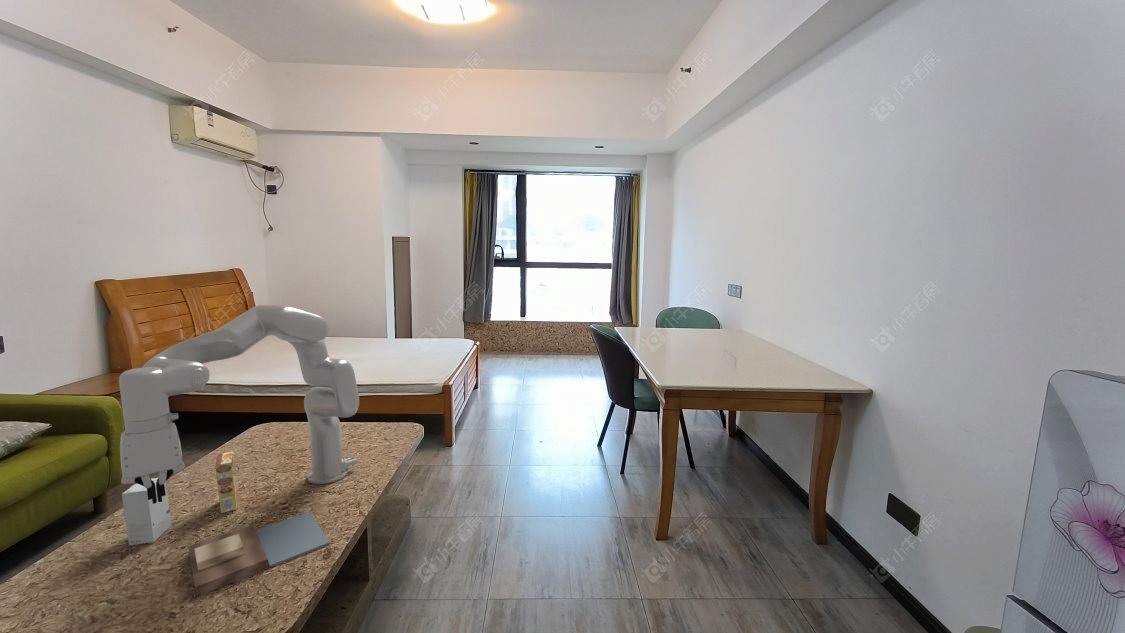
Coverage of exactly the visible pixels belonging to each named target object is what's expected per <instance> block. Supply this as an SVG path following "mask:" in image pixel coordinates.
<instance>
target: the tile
mask: <svg viewBox="0 0 1125 633" xmlns="http://www.w3.org/2000/svg"><path fill="white" fill-rule="evenodd" d="M243 554H244V549H243V544H242V542H241V539H240V536H239V534H236V535H233V536H230V537H227V538H224V539H221V540H218V541H216V542H213V543H210V544H207V545H204V546H201V547H198V548H195V557H196V562H197V567H198V571H199V570H202V569H204V568H207V567H210V566H213V565H215V564H218V563H221V562H224V561H226V560H229V559H232V558H235V557H237V556H240V555H243Z"/></svg>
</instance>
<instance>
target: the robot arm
mask: <svg viewBox="0 0 1125 633" xmlns="http://www.w3.org/2000/svg"><path fill="white" fill-rule="evenodd" d="M328 334H329V324H328V321H326V319H325V318H324V317H322V316H321V315H319V314H315V313H313V312H312V313H311V312H307V311H305V310H302V309H299V308H295V307H292V306H285V305H269V304H259V305H255V306H253V307H251V308H249V309H248V310H246V311H245V312H243V313H241V314H239V315H238V316H236V317H235V318H234V319H232V320H230V321H229V322H227V323H225V324H223V325H222V326H220V327H219V328H217V329H214V330H212V331H209V332H205V333H202V334H201V335H198V336H194V337H191V338H188V339H185V340H183V341H180V342H178V343H176V344H173V345H171V346H170V347H168V348H166V349H165V350H162V351H161V352H159V353H157V354H156V355H154V356H153V357H151V358H150V359H148V360H147V361H146V362H145V363H144V364H143V365H142V367H137V368H131V369H128V370H125V371H123V372H122V373H121V374H120V375H119V377H118V383H119V384H118V385H119V391H120V400H121V401H120V402H121V407H122V415H123V416H122V417H123V423H124V424H123V425H124V431H122V432H121V434H120V440H119V455H120V466H121V467H120V469H121V474H122V476H121V484H122V485H126V484H127V485H128V484H129V485H130V484H139V485H142V486H144V487H145V488H147V494H148V500H151V499H152V501H153V504H155V503H156V502H157V497H158V502H162V496H166V493H165V485H164V484H165V483H166V484H167V481H168V480H169V479H170V478H171V477H172V476H173V474H176V473H179V472H181V471H183V470H185V469H186V466H185V463H184V461H183V453H182V445H181V440H180V434H179V431H178V428H177V425H176V423H175V422H173V421H175V420H179V413H178V412H176V413H172V412H170V405H169V397H171V396H177V395H184V394H190V393H193V392H197V391H199V390H201V389H203V388H204V387H205V386H206V384H208V382H209V380H210V375H211V374H210V370H209V368H208V367H207V366H206V365H205V364H206V363H210V362H217V361H222V360H223V361H224V360H228V359H231V358H236V357H239V356H241V355H243V354H245V353H246V352H247V351H249V350H250V349H251V348H253V347H254V346H255V345H257V344H259V342H261V341H263V340H264V339H265V338H267V337H269V336H275V337H276V338H277V339H279V340H282V341H284V342H285V341H286V342H288V343H289V344H290V345H291V346H292V347H293V348H294V350H295V352H296V355H297V359H298V362H299V366H300V371H301V376H302V378H303V381H304V383H305V384H307V385H308V386H311V387H312V388H310V390H308V391H307V392H306V393H305V396H304V398H303V406H304V411H305V413H306V417H307V421H308V429H309V430H308V431H309V444H310V459H311V470H310V472H309V473H308V474H307V476H306V478H307V479H306V480H307V482H308V483H311V484H314V485H324V484H325V485H326V484H329V483H333V482H337V481H340V480H342V479H343V478H345V477H346V476H347V475H348V474H347V473H349V466H354V465H356V464H358V458H357V457H356V458H352V457H348V458H345V459H344V458H343V443H342V442H343V441H342V426H341V421H340V419H339V418H350V417H353V416H355V415H356V413H357V411H358V410H359V406H360V395H359V390H358V384H357V379H356V373H355V369H354V367H353V365H352V364H351V363H350V362H349V361H347V360H346V359H341V358H332V357H330V356H329V352H328V350H327V346H326V343H325V339H326V337H327V336H328ZM154 474H158V477H157V478H158V479H157V482H156V488H155V483H154V482H153V480H151V479H152V478H151V475H154ZM341 478H342V479H341ZM339 479H340V480H339ZM156 489H157V496H156Z"/></svg>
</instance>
